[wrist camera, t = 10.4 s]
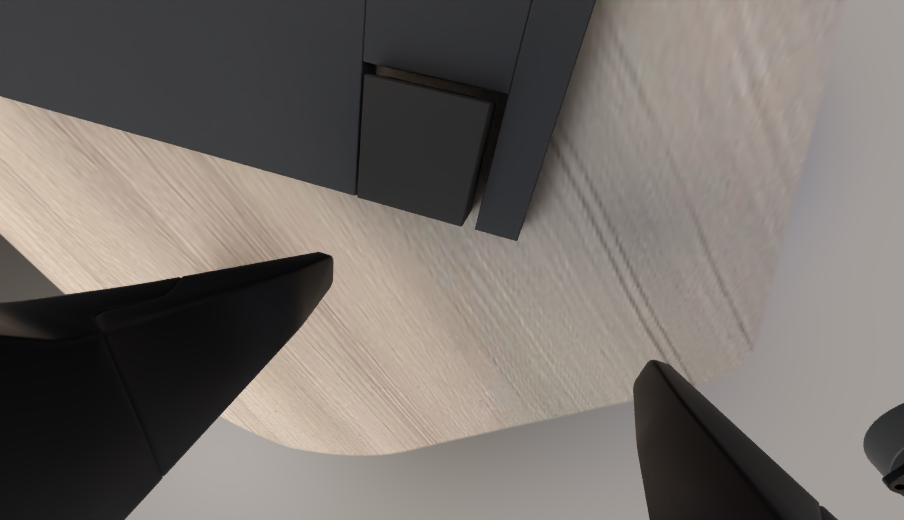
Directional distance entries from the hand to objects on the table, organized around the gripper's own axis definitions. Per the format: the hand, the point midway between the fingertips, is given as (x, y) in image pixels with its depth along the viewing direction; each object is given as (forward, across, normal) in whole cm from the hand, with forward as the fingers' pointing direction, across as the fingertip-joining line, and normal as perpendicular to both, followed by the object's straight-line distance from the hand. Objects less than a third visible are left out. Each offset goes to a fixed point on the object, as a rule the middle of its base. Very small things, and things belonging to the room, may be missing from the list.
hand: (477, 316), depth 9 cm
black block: (+11, +5, -2) cm, 12 cm away
